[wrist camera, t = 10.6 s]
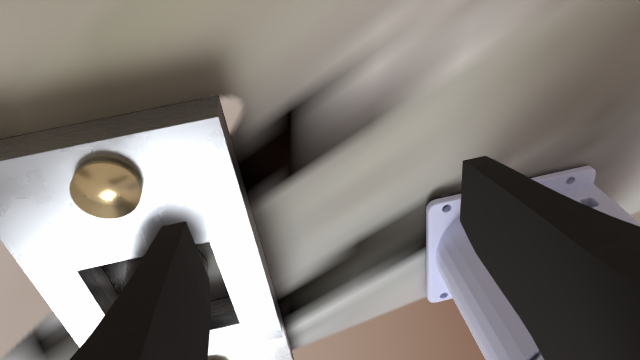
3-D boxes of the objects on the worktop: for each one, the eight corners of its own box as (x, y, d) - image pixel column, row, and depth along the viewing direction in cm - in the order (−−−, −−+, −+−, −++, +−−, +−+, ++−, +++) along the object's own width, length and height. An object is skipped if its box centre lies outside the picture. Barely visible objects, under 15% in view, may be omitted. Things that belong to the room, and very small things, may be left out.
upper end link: (218, 95, 19) (218, 122, 17) (279, 309, 28) (284, 345, 25) (-26, 144, 19) (-56, 178, 17) (111, 349, 27) (101, 388, 25)
